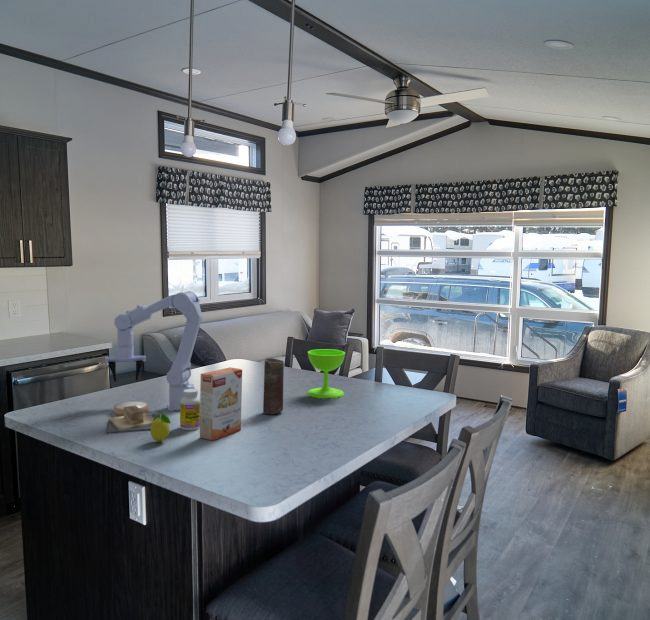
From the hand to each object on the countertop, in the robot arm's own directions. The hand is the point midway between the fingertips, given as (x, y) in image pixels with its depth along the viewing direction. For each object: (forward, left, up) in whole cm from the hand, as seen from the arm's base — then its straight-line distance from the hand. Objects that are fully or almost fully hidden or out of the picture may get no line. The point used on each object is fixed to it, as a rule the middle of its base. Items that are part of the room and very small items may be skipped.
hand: (126, 380), depth 210 cm
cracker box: (-30, +44, -10) cm, 54 cm away
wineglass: (-80, +2, -10) cm, 81 cm away
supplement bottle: (-21, +35, -10) cm, 42 cm away
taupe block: (-3, +26, -9) cm, 27 cm away
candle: (-52, +24, -10) cm, 58 cm away
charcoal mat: (-3, +26, -9) cm, 28 cm away
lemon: (-11, +47, -10) cm, 49 cm away
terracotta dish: (-2, +11, -9) cm, 15 cm away
